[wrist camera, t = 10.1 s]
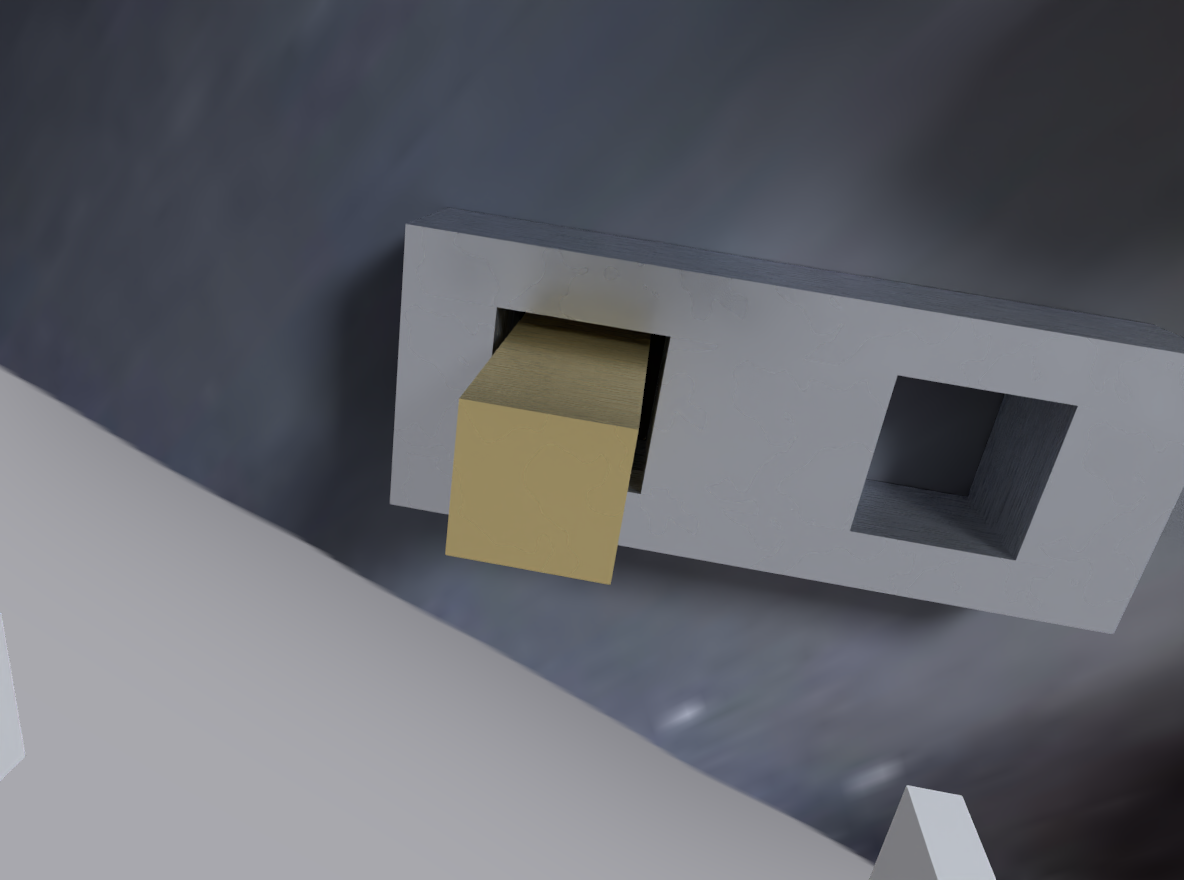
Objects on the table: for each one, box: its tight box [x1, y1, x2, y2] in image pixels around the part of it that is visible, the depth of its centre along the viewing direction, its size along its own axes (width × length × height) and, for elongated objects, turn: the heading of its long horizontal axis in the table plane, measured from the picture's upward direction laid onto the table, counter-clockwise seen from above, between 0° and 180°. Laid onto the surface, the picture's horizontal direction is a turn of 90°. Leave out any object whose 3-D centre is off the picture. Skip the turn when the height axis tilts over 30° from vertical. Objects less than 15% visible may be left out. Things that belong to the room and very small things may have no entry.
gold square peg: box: [445, 312, 651, 585], centre depth 26 cm, size 4×4×12 cm
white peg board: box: [390, 207, 1184, 634], centre depth 29 cm, size 10×26×5 cm, turn 82°
